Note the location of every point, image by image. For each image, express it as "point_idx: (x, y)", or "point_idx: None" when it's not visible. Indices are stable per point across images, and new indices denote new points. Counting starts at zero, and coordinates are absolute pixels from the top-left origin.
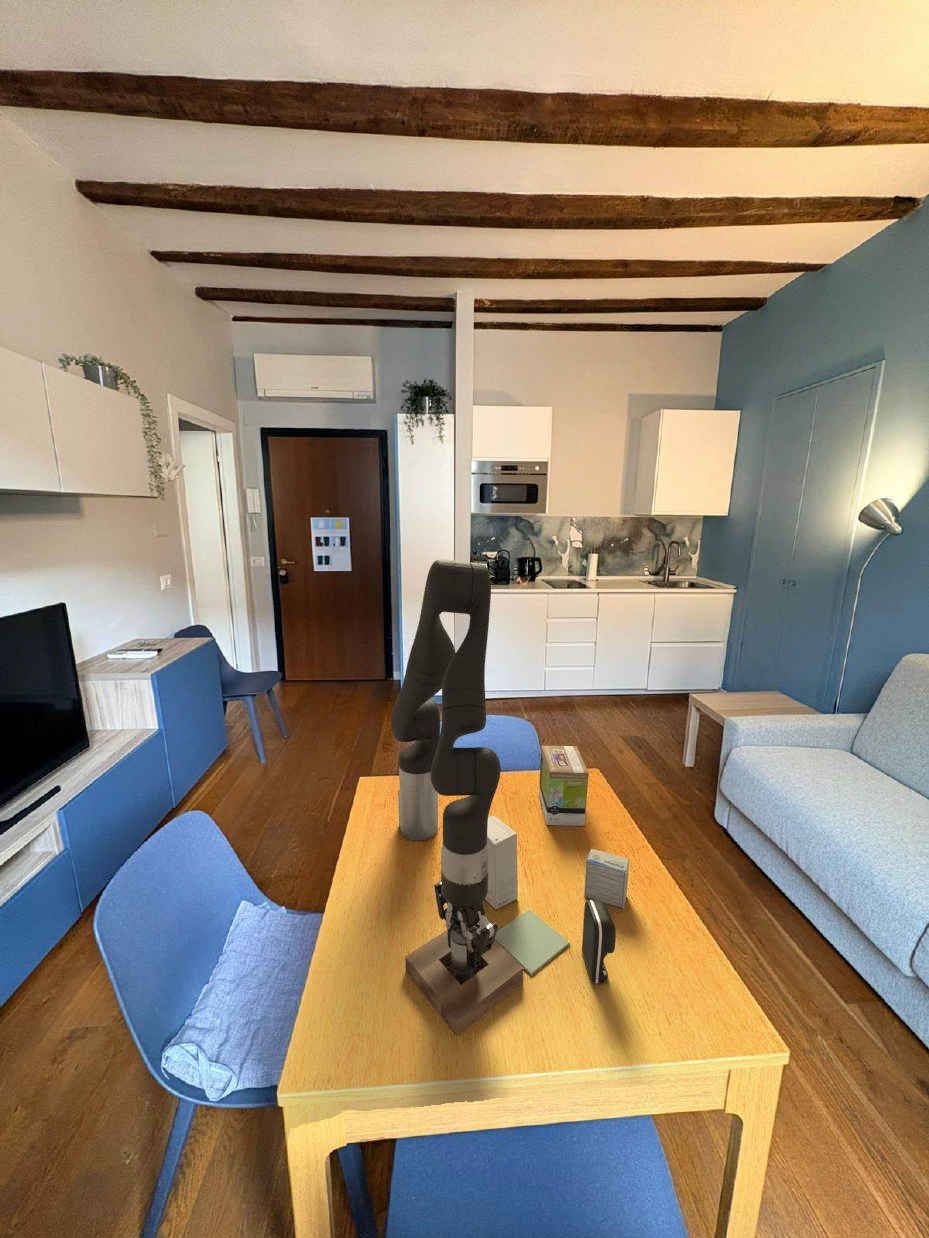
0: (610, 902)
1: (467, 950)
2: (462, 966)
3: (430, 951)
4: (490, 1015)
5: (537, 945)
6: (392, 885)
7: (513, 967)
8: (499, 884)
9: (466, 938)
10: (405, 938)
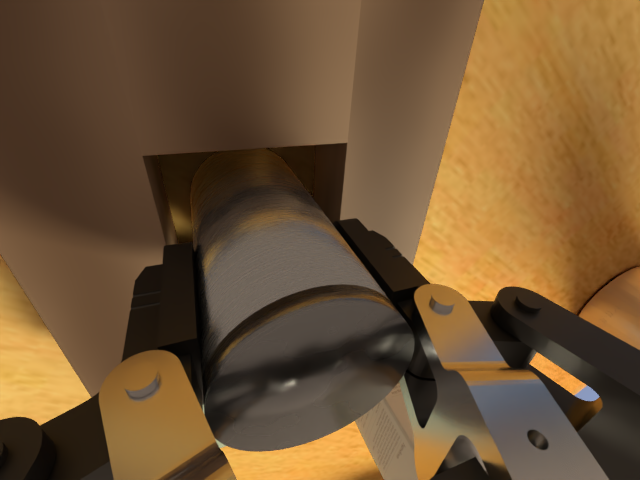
0: None
1: (189, 330)
2: (209, 220)
3: (403, 135)
4: None
5: (203, 411)
6: (614, 180)
7: None
8: (397, 438)
9: (205, 443)
10: (503, 105)
